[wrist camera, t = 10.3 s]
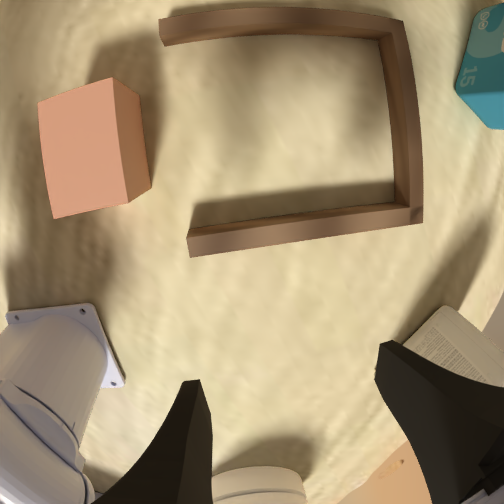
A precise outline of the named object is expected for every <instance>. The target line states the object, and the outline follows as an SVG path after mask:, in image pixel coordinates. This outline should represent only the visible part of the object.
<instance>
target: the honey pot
mask: <svg viewBox="0 0 504 504" xmlns="http://www.w3.org/2000/svg"><path fill="white" fill-rule="evenodd" d="M211 482H212V498H213V504H307V500H306V494H305V490H304V487H303V483H302V480H301V477H300V476H299V474H298V473H297V472H295V471H293V470H291V469H287V468H282V467H273V466H255V467H246V468H238V469H234V470H230V471H226V472H223V473H220V474H218V475H215V476H213V477H212V481H211Z"/></svg>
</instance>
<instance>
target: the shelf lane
mask: <svg viewBox="0 0 504 504" xmlns="http://www.w3.org/2000/svg"><path fill="white" fill-rule="evenodd" d="M158 20H159V35H160V38H161V40H162V42H163V44H164V46H171V45H176V44H182V43H188V42H194V41H201V40H209V39H217V38H226V37H237V36H252V35H276V34H304V35H328V36H342V37H353V38H363V39H371V40H378V43H379V48H380V53H381V59H382V64H383V70H384V76H385V83H386V90H387V97H388V105H389V114H390V124H391V134H392V147H393V163H394V189H395V202H390V203H381V204H372V205H363V206H355V207H346V208H338V209H329V210H321V211H313V212H306V213H298V214H290V215H283V216H276V217H268V218H261V219H254V220H247V221H240V222H233V223H227V224H220V225H213V226H207V227H201V228H194V229H189V231H188V234H187V237H186V239H187V245H188V250H189V255H190V258H192V257H198V256H205V255H212V254H218V253H225V252H231V251H238V250H245V249H251V248H258V247H264V246H271V245H278V244H284V243H291V242H298V241H304V240H311V239H318V238H325V237H331V236H338V235H345V234H352V233H358V232H365V231H372V230H379V229H386V228H392V227H399V226H406V225H413V224H420V223H423V156H422V139H421V127H420V116H419V107H418V99H417V91H416V85H415V78H414V72H413V66H412V61H411V55H410V50H409V45H408V41H407V36H406V32H405V28H404V24H403V21H401V20H396V19H391V18H386V17H381V16H376V15H370V14H363V13H356V12H348V11H340V10H330V9H317V8H297V7H259V8H239V9H226V10H216V11H207V12H199V13H192V14H186V15H180V16H174V17H168V18H163V19H158Z"/></svg>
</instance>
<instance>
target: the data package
mask: <svg viewBox="0 0 504 504" xmlns="http://www.w3.org/2000/svg"><path fill="white" fill-rule="evenodd" d="M455 88H456V93H457V94H458V96H459V97H460V98H461V99H462V100H463V101H464V102H465V103H466V104H467V105H468V106H469V107H470V108H471V109H472V110H473V112H474V113H475V114H476V115H477V116H478V117H479V118H480V119H481V121H482V122H483V123H484V124H485V125H486V126H487V127H488V128H490V129H499V130H504V3H501V4H497V5H494V6H491V7H487V8H484V9H482V10H481V11H480V12H478V13H477V15H476V16H475V18H474V20H473V25H472V29H471V33H470V37H469V41H468V45H467V48H466V52H465V56H464V59H463V62H462V66H461V69H460V72H459V76H458V79H457V82H456V87H455Z"/></svg>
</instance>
